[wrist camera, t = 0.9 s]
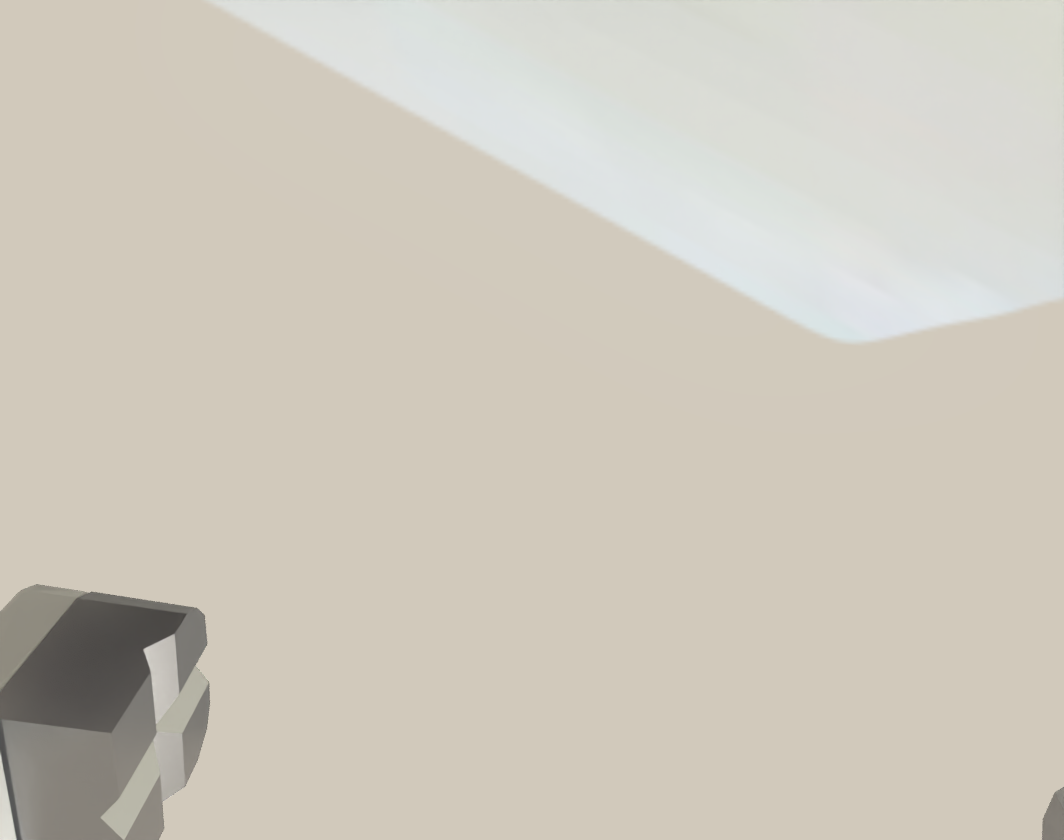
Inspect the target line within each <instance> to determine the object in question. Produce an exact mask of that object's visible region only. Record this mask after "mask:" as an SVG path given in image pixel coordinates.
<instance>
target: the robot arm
mask: <svg viewBox="0 0 1064 840" xmlns="http://www.w3.org/2000/svg"><path fill="white" fill-rule="evenodd" d="M206 646H207V635H206V624H205V615H204V614H203V613H202V612H201V611H200V610H199V609H197V608H194V607H187V606H181V605H175V604H168V603H162V602H155V601H148V600H142V599H136V598H129V597H123V596H116V595H110V594H103V593H97V592H90V593H87V592H84V591H78V590H71V589H65V588H58V587H51V586H45V585H38V584H36V585H34V586H31V587H28V588H25V589H23V590H21V591H20V592H18V593H17V594H16V595H15V596H14V598H13V599H12V600H11V601H10V602H9V603H8V604H7V605H6V606H5V607H4V608H3V609H2V610H1V611H0V840H159V838H160V836H161V834H162V832H163V830H164V819H163V805H162V802H163V801H164V800H166V799H167V798H169V797H170V796H172V795H173V794H174V793H176V792H178V791H179V790H181V789H182V788H183V787H185V786H186V784H187V781H188V779H189V777H190V775H191V773H192V771H193V769H194V767H195V765H196V762H197V760H198V757H199V754H200V750H201V747H202V744H203V740H204V737H205V733H206V730H207V724H208V715H209V705H210V692H209V681H208V680H207V679H206V678H205V676H204V675H203V674H202V673H201V672H200V670H199V669H198V668H197V667H196V666H195V665H196V663H197V662H198V660H199V658H200V656H201V655H202V653H203V651H204V649H205V647H206ZM1042 840H1064V787H1063V788H1061V789H1060V790H1058V791H1056V792H1055V793H1054V795H1053V798H1052V800H1051V802H1050V804H1049V806H1048V809H1047V811H1046V813H1045V815H1044V818H1043V831H1042Z"/></svg>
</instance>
